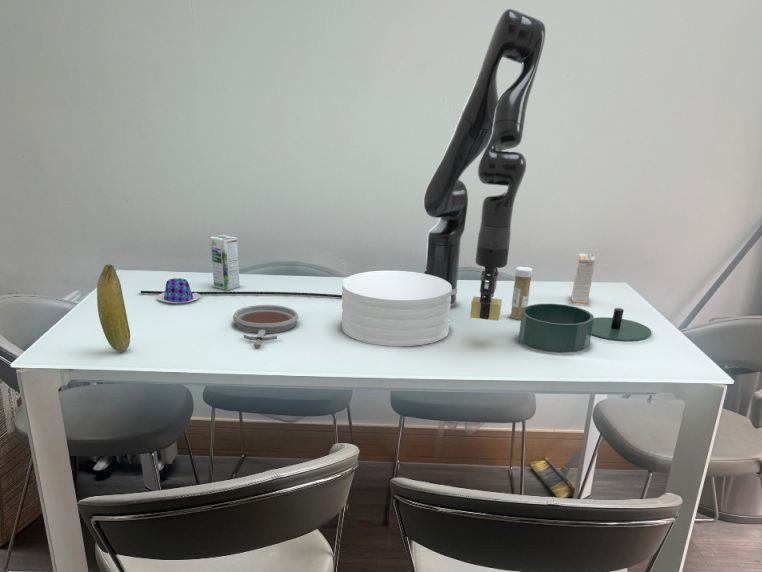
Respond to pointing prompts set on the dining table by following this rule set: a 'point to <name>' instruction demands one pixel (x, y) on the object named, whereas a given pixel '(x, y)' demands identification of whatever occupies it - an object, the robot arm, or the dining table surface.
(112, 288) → the vegetable
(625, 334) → the pot lid
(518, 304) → the sprinkles bottle
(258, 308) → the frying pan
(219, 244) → the syrup box
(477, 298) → the butter
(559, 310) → the pot
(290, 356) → the dining table surface
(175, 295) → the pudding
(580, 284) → the supplement box
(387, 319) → the plate stack
